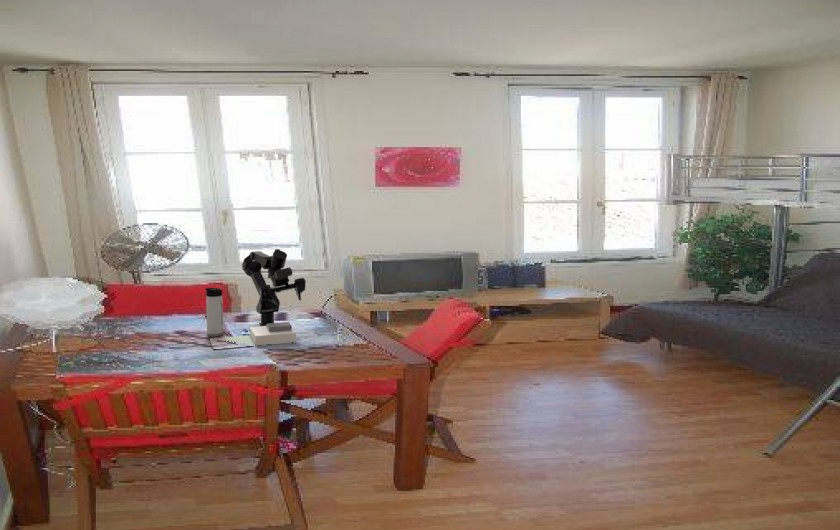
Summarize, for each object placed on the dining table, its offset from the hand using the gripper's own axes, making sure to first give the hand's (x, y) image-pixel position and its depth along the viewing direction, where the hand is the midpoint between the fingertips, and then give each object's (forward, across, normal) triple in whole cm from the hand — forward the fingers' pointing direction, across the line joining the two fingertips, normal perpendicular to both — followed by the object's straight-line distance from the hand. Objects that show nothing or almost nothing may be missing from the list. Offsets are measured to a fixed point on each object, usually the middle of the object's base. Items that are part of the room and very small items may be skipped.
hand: (289, 302), depth 214 cm
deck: (+5, -8, +14) cm, 17 cm away
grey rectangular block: (+4, -5, +11) cm, 12 cm away
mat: (+3, -24, +12) cm, 27 cm away
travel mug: (-10, -28, +20) cm, 36 cm away
